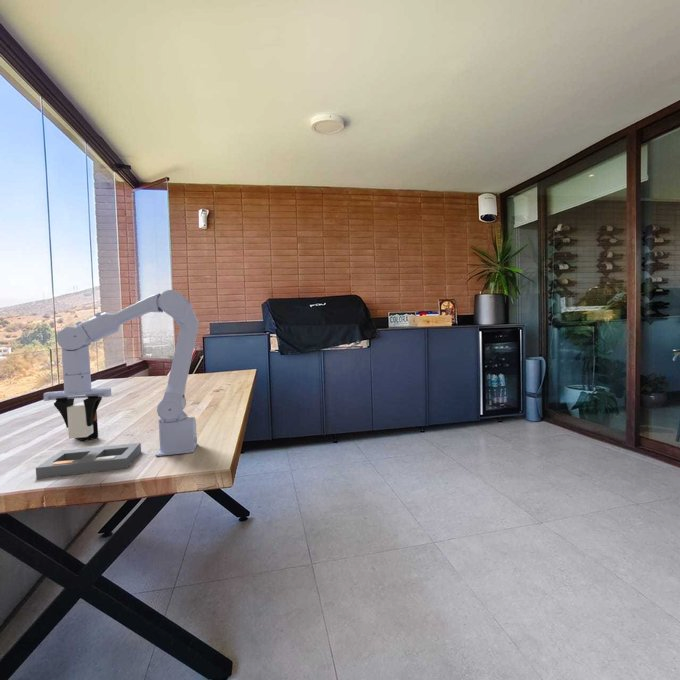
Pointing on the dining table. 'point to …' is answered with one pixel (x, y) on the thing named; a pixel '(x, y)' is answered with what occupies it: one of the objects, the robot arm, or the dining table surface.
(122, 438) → the dining table surface
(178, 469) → the dining table surface
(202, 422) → the dining table surface
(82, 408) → the plug
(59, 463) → the socket block
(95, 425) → the battery
